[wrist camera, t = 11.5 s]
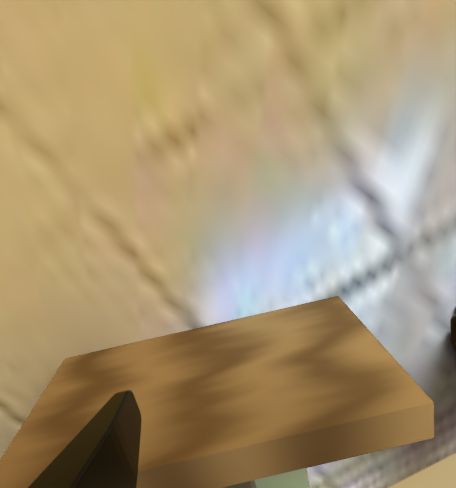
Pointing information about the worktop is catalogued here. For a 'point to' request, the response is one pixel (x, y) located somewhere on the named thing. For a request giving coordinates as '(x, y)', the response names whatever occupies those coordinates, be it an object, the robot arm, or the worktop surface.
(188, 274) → the worktop surface
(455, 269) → the worktop surface
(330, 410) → the wooden board
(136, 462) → the robot arm
